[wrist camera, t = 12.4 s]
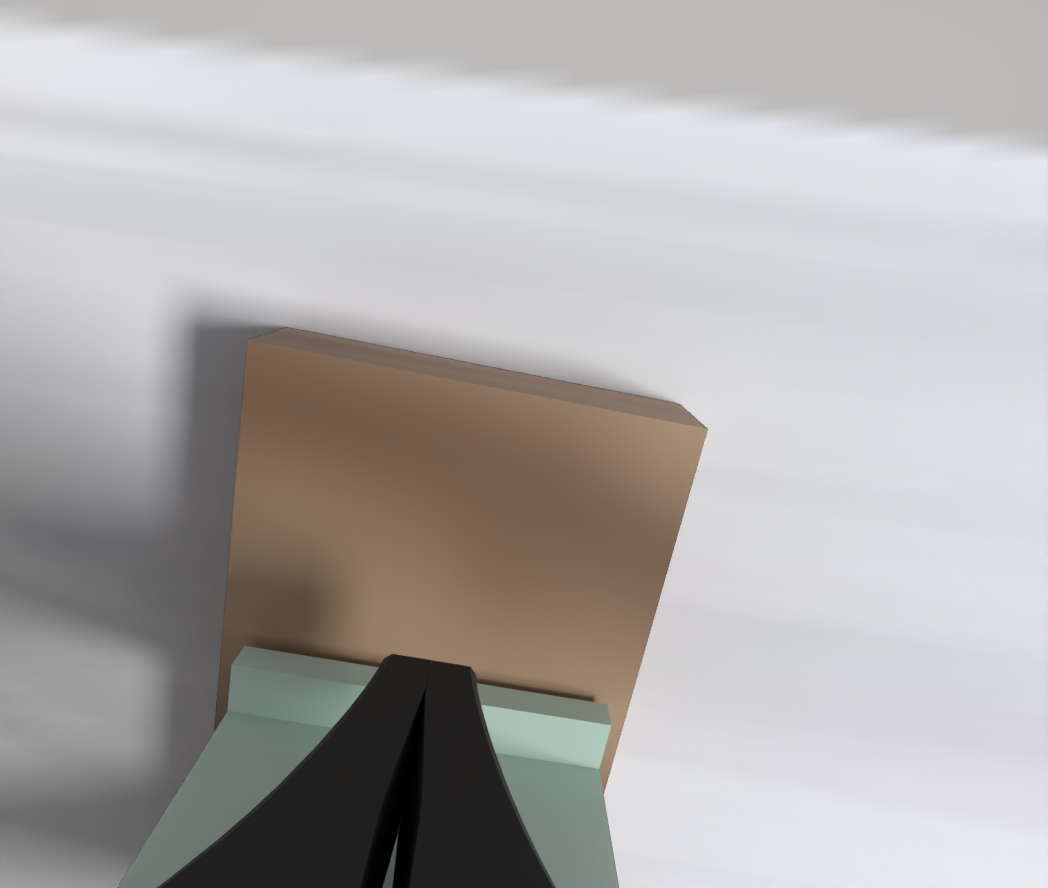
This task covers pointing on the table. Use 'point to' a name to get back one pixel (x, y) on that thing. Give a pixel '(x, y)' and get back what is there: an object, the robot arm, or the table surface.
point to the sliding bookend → (317, 705)
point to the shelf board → (451, 518)
